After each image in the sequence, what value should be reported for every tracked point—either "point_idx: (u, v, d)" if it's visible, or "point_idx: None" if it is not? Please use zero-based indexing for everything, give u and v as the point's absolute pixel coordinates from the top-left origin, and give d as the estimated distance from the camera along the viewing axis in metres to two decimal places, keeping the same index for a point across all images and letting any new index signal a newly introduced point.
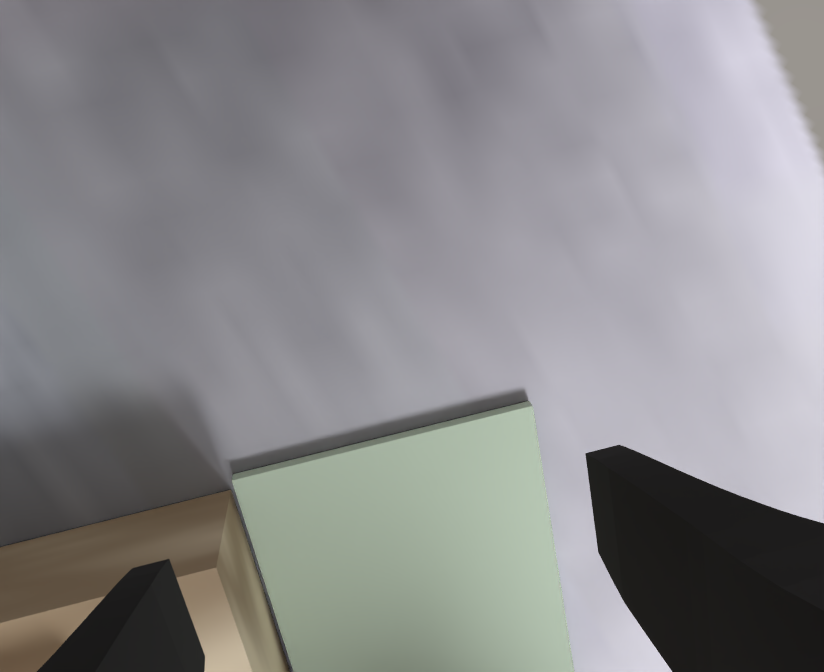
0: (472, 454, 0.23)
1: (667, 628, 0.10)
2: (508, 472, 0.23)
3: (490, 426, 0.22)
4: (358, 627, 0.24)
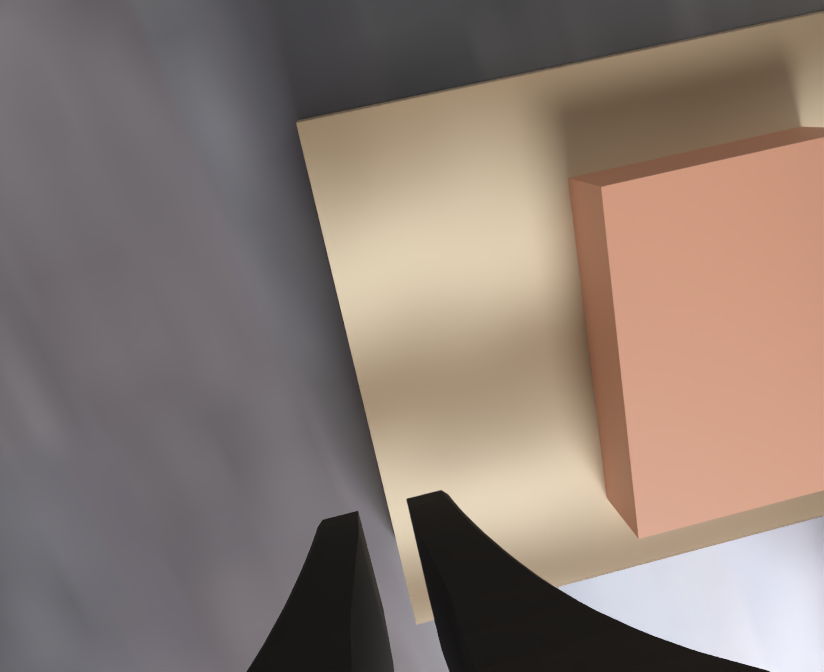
0: None
1: None
2: None
3: None
4: None
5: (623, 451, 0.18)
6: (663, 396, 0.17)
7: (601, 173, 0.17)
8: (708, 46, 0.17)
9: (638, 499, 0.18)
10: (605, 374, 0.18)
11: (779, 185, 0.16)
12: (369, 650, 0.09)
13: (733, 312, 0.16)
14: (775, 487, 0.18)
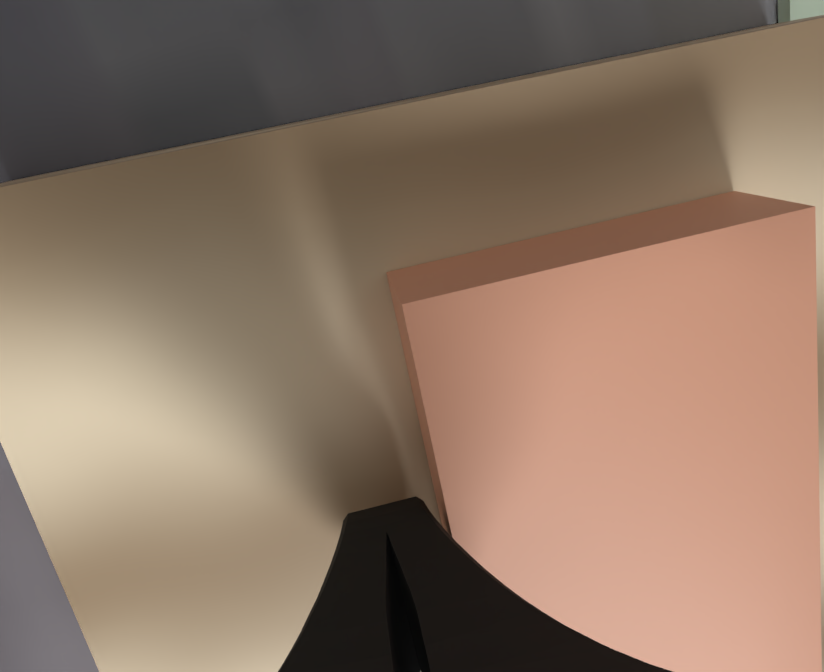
0: None
1: None
2: None
3: None
4: None
5: None
6: (527, 596, 0.11)
7: (430, 267, 0.11)
8: (550, 88, 0.11)
9: None
10: None
11: (690, 295, 0.10)
12: (400, 641, 0.09)
13: (627, 478, 0.11)
14: None
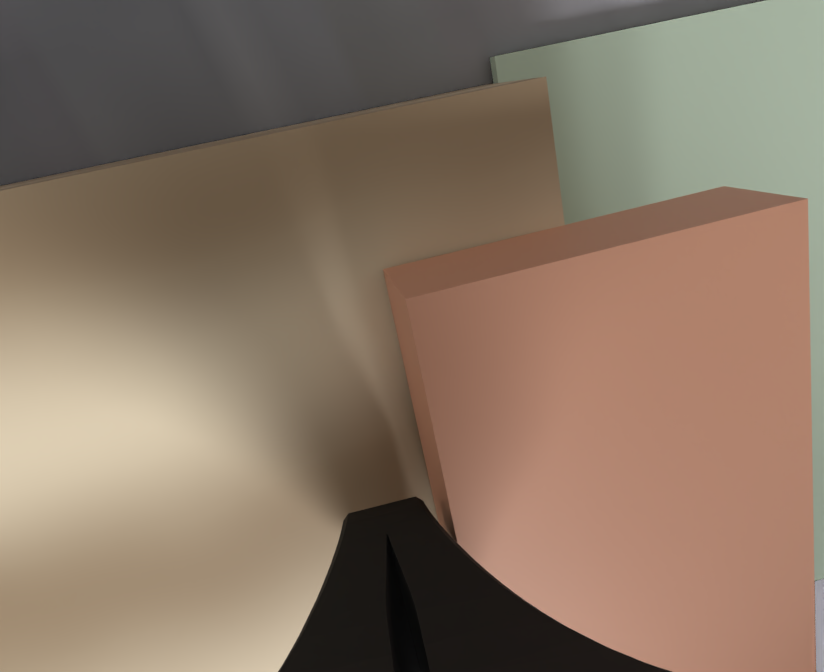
0: None
1: None
2: None
3: None
4: None
5: None
6: (529, 593, 0.11)
7: (429, 263, 0.11)
8: (143, 176, 0.11)
9: None
10: None
11: (688, 286, 0.10)
12: (401, 641, 0.09)
13: (628, 471, 0.11)
14: None
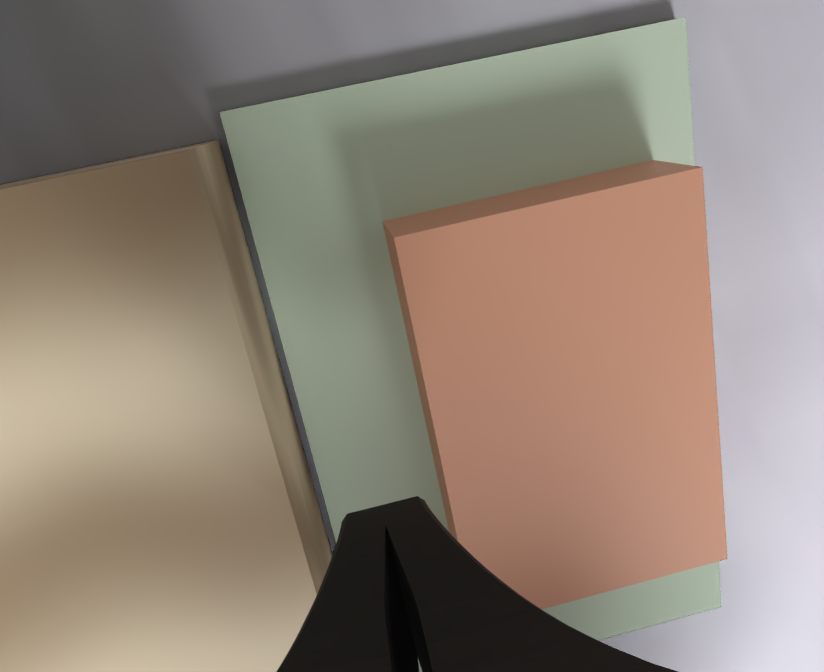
0: (590, 97, 0.15)
1: None
2: (642, 133, 0.15)
3: (621, 48, 0.14)
4: (409, 384, 0.16)
5: None
6: None
7: (658, 173, 0.14)
8: None
9: None
10: None
11: None
12: (399, 642, 0.09)
13: None
14: None
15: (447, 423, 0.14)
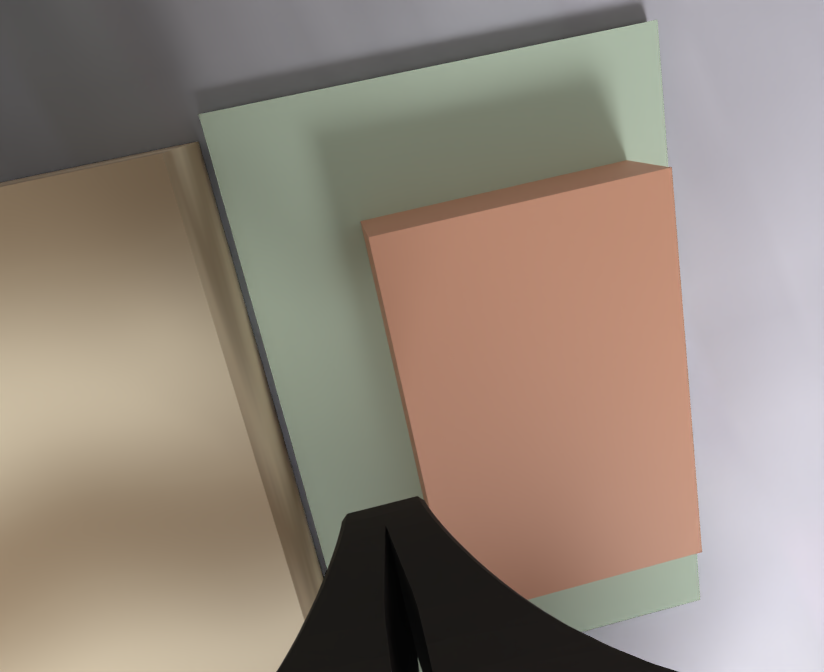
0: (564, 98, 0.15)
1: None
2: (615, 134, 0.15)
3: (593, 51, 0.15)
4: (388, 381, 0.16)
5: None
6: None
7: (629, 173, 0.14)
8: None
9: None
10: None
11: None
12: (399, 642, 0.09)
13: None
14: None
15: (423, 419, 0.15)
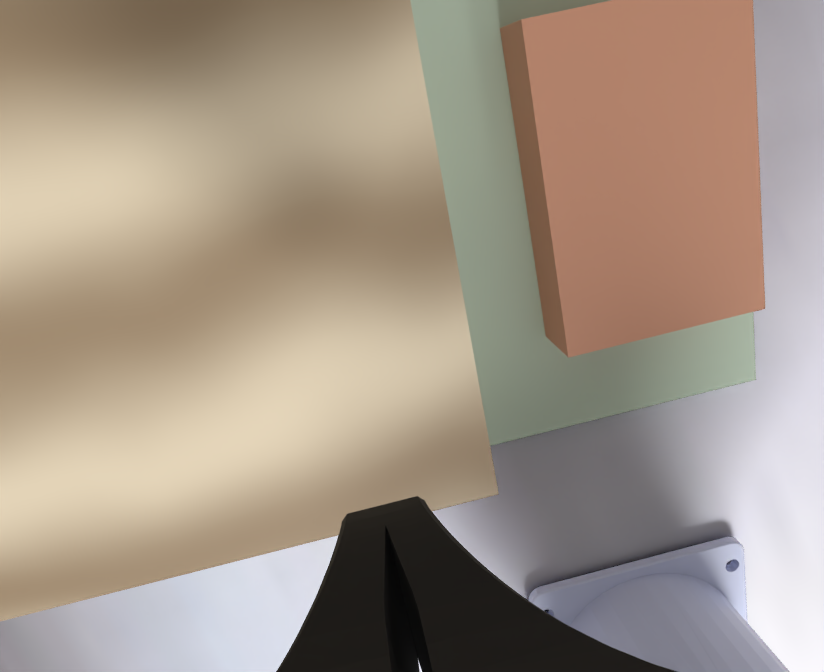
0: None
1: None
2: None
3: None
4: (514, 168, 0.20)
5: None
6: None
7: None
8: None
9: None
10: None
11: None
12: (399, 642, 0.09)
13: None
14: None
15: (553, 177, 0.19)
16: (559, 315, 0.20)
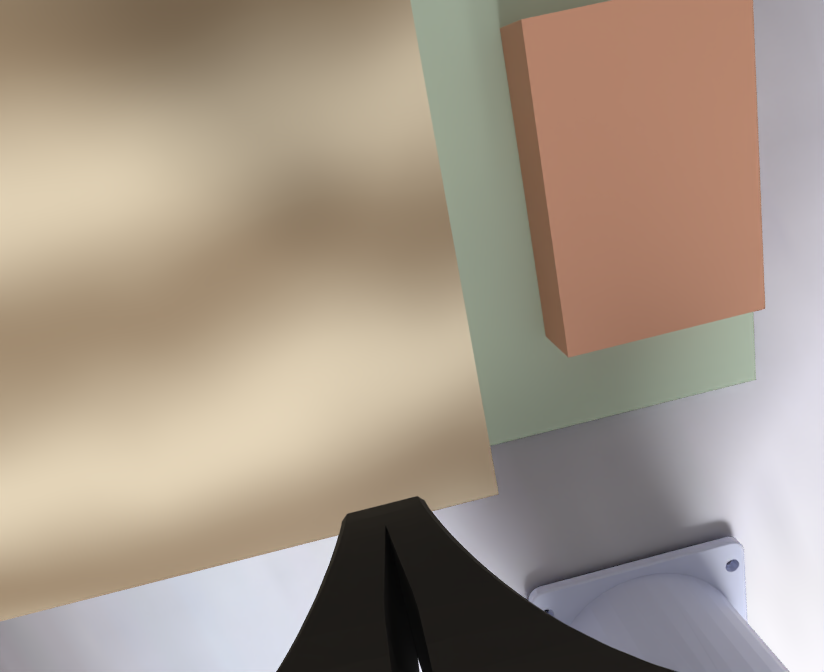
0: None
1: None
2: None
3: None
4: (514, 168, 0.20)
5: None
6: None
7: None
8: None
9: None
10: None
11: None
12: (399, 642, 0.09)
13: None
14: None
15: (553, 177, 0.19)
16: (559, 315, 0.20)
